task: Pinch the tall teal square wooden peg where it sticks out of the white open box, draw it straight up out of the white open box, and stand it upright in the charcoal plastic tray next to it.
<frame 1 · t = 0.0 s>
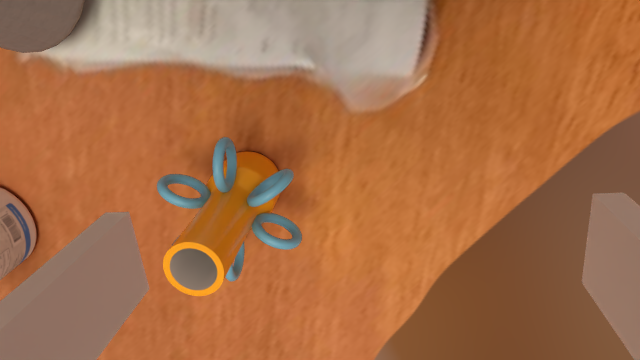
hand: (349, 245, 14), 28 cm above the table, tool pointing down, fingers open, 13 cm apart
yellow ringed vase: (250, 179, 45), on the table
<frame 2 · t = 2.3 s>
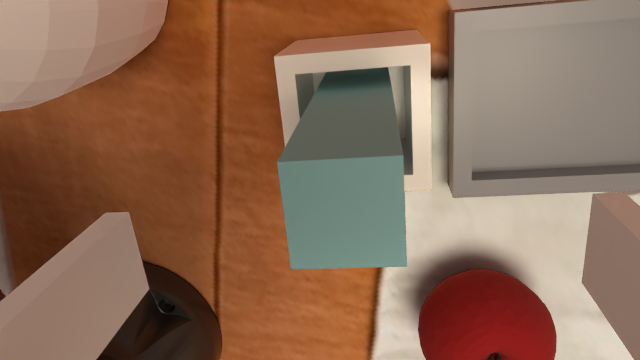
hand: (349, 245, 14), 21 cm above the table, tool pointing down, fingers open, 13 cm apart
peg: (359, 97, 33), point 1 cm above the table, touching white open box
tray: (571, 94, 32), on the table
white open box: (359, 94, 33), on the table
apple: (472, 296, 39), on the table
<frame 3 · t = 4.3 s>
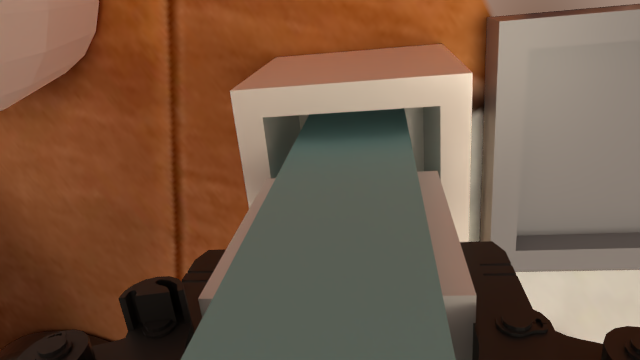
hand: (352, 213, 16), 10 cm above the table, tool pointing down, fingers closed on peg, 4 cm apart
peg: (361, 136, 24), point 1 cm above the table, touching white open box, gripper
white open box: (362, 130, 25), on the table
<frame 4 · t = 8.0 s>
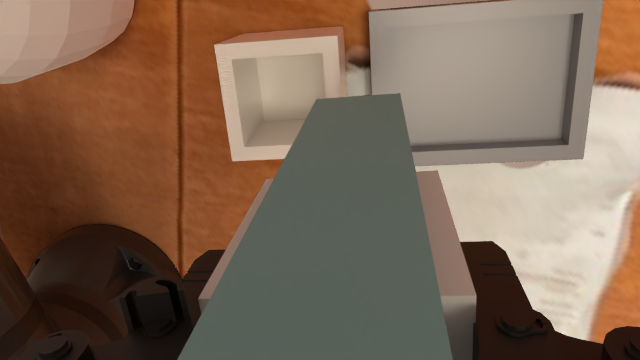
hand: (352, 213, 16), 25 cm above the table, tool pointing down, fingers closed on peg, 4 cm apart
peg: (360, 136, 24), point 16 cm above the table, touching gripper
tray: (473, 81, 38), on the table
white open box: (297, 80, 40), on the table
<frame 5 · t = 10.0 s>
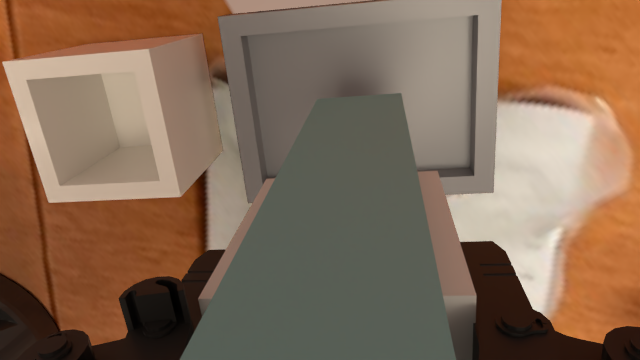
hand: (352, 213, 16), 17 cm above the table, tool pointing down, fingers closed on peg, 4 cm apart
peg: (361, 136, 24), point 9 cm above the table, touching gripper
tray: (361, 99, 32), on the table
white open box: (157, 98, 33), on the table
when the fingers open (11 cm above the table, at t = 11.7 s): peg drops 1 cm, resting on tray.
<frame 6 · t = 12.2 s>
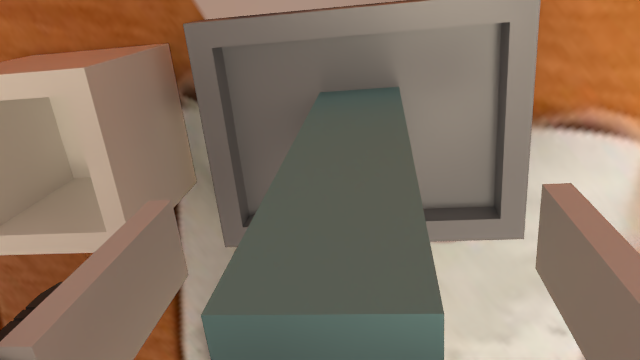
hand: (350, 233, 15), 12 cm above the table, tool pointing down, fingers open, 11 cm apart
peg: (361, 127, 25), point 1 cm above the table, touching tray
tray: (362, 122, 26), on the table
white open box: (117, 121, 28), on the table
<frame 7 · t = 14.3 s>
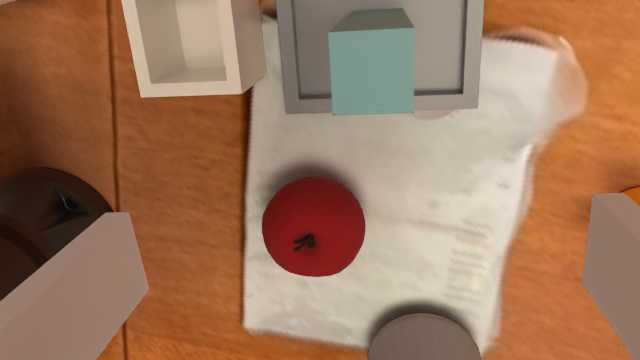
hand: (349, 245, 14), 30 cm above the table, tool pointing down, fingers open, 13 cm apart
peg: (377, 35, 40), point 1 cm above the table, touching tray
coffee pot: (376, 335, 53), on the table
tray: (378, 34, 41), on the table
white open box: (217, 30, 42), on the table
apple: (320, 205, 48), on the table
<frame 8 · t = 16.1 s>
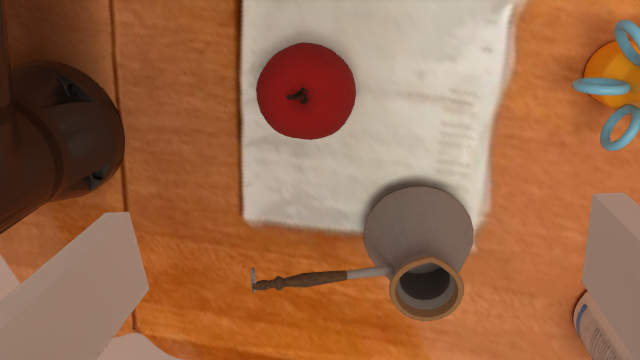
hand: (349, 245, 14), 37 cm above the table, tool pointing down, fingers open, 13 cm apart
supplement tub: (614, 309, 55), on the table
yellow ringed vase: (614, 71, 46), on the table
coffee pot: (371, 218, 55), on the table
apple: (312, 83, 49), on the table
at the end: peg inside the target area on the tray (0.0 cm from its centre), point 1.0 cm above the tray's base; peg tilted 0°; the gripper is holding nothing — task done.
